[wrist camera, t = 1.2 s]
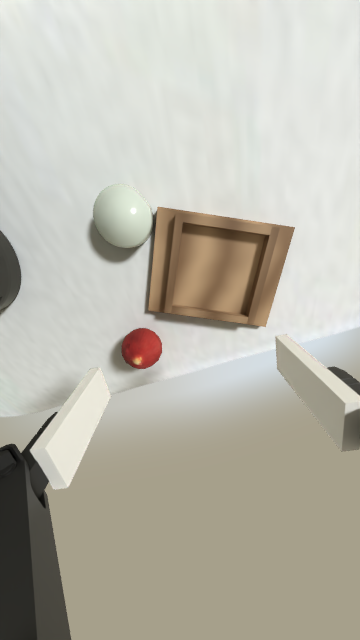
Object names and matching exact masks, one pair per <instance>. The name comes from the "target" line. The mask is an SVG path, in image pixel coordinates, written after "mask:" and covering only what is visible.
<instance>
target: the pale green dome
mask: <svg viewBox="0 0 360 640" xmlns="http://www.w3.org/2000/svg"><path fill="white" fill-rule="evenodd" d="M93 217H94V222H95V225H96V228H97V230H98V232H99V233H100V235H101V236H102V237H103V238H104V239H105V240H106V241H107V242H109V243H110V244H112V245H114V246H117V247H125V248H132V247H137V246H140V245H142V244H143V243H144V242H146V241H147V239H148V238H149V237H150V235H151V233H152V230H153V225H154V218H153V213H152V210H151V208H150V206H149V204H148V202H147V201H146V200H145V199H144V197H143V196H142V195H141V194H140V193H139V192H138V191H137V190H135V189H134V188H132V187H130V186H128V185H124V184H115V185H111V186H108V187H107V188H105V189H104V190H103V191H102V192H101V193H100V194H99V195H98V197H97V199H96V201H95V204H94V209H93Z"/></svg>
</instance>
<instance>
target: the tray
mask: <svg viewBox="0 0 360 640" xmlns="http://www.w3.org/2000/svg"><path fill="white" fill-rule="evenodd" d="M294 229H295V227H289V226H282V225H276V224H269V223H262V222H256V221H249V220H242V219H236V218H229V217H222V216H216V215H209V214H203V213H196V212H189V211H183V210H176V209H169V208H163V207H158V209H157V220H156V231H155V242H154V253H153V264H152V275H151V286H150V297H149V308H148V311H155V312H163V313H170V314H177V315H184V316H191V317H199V318H206V319H213V320H220V321H228V322H235V323H242V324H249V325H256V326H264V327H266V324H267V320H268V317H269V313H270V310H271V307H272V303H273V300H274V296H275V293H276V290H277V286H278V283H279V280H280V276H281V273H282V269H283V266H284V263H285V259H286V256H287V252H288V249H289V246H290V242H291V239H292V236H293V232H294Z"/></svg>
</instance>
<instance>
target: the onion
mask: <svg viewBox="0 0 360 640" xmlns="http://www.w3.org/2000/svg"><path fill="white" fill-rule="evenodd" d="M161 353H162V343H161V340H160V338H159V337H158V336H157V335H156V333H155V332H153V331H151V330H149V329H146V328H139V329H136V330H133V331H132V332H130V333H129V334H128V335H127V336H125V339H124V341H123V343H122V356H123V358H124V360H125V362H126V363H127V364H129V365H131V366H132V367H135V368H137V369H145V368H148V367H150V366H152V365H153V364H155V363H156V362H157V361H158V360H159V358H160V355H161Z"/></svg>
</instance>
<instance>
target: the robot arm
mask: <svg viewBox="0 0 360 640" xmlns="http://www.w3.org/2000/svg"><path fill="white" fill-rule="evenodd" d="M20 283H21V271H20V265H19V262H18V258H17V256H16V253H15V251H14V249H13V247H12V246H11V244H10V242H9V241H8V239H7V238H6V237H5V235H4V234H3V233H2V232H1V231H0V310H2V309H4V308H5V307H7V306H8V305H10V304H11V303H12V301H13V300H14V299H15V297H16V296H17V294H18V291H19V288H20ZM276 356H277V369H278V370H279V372H280V373H281V375H282V376H283V377H284V378H285V380H286V381H287V382H288V383H289V385H290V386H291V387H292V389H293V390H294V391H295V393H296V394H297V395H298V396H299V398H300V399H301V400H302V402H303V403H304V404H305V405H306V407H307V408H308V409H309V411H310V412H311V413H312V414H313V415H314V417H315V418H316V419H317V421H318V422H319V423H320V425H321V426H322V427H323V428H324V430H325V431H326V432H327V434H328V435H329V436H330V438H331V439H332V440H333V441H334V442H335V444H336V445H337V447H338V448H339V449H340V450H341V452H342V451H350V450H358V449H359V447H360V383H359V382H358V381H357V380H356V379H354V378H353V377H352V376H351V375H349V374H348V373H347V372H345V371H344V370H341V369H339V368H337V367H328V368H326V367H325V366H323V365H322V364H321V363H320V362H319V361H318V360H316V359H315V358H314V357H313V356H312V355H310V354H309V353H308V352H307V351H306V350H305V349H303V348H302V347H301V346H300V345H299V344H297V343H296V342H295V341H294V340H293V339H291V338H290V337H289V336H288V335H287V334H286V335H280V336H276ZM110 398H111V395H110V392H109V389H108V387H107V384H106V382H105V379H104V376H103V374H102V371H101V369H100V367H98V368H92V369H90V370H89V371H88V373H87V374H86V375H85V377H84V378H83V379H82V381H81V382H80V383H79V385H78V386H77V387H76V389H75V390H74V391H73V393H72V394H71V395H70V397H69V398H68V399H67V401H66V402H65V403H64V405H63V406H62V408H61V409H60V410H59V412H55V413H54V414H53V415H52V416H51V417H50V418H48V419H47V421H46V422H45V423H44V425H43V426H42V428H40V430H39V431H38V432H37V434H36V435H35V436H34V437H33V439H32V440H31V441H30V443H29V444H28V445H27V446H26V448H25V449H24V450H23V452H22V453H20V451H19V450H18V448H17V446H16V445H15V444H9V445H5V446H3V447H1V448H0V640H71V636H70V630H69V624H68V618H67V612H66V606H65V600H64V594H63V588H62V582H61V576H60V570H59V564H58V558H57V552H56V546H55V540H54V534H53V528H52V522H51V515H50V509H49V504H48V498H47V494H46V492H45V490H44V489H45V488H46V486H47V484H48V482H49V483H50V484H51V486H52V488H53V489H54V490H55V489H62V488H68V487H69V485H70V483H71V480H72V478H73V476H74V474H75V472H76V470H77V468H78V465H79V464H80V461H81V459H82V457H83V455H84V453H85V451H86V449H87V446H88V444H89V442H90V440H91V437H92V436H93V434H94V432H95V430H96V427H97V425H98V423H99V421H100V419H101V417H102V415H103V412H104V410H105V408H106V406H107V404H108V402H109V400H110Z"/></svg>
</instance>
